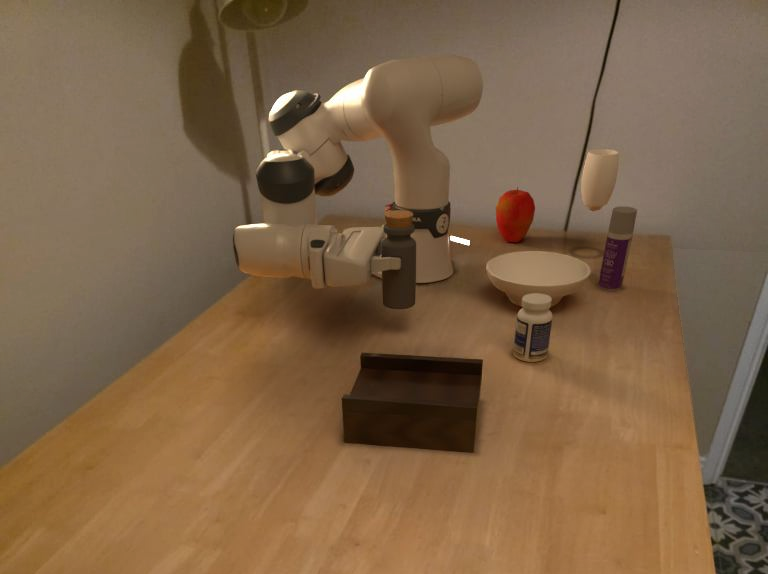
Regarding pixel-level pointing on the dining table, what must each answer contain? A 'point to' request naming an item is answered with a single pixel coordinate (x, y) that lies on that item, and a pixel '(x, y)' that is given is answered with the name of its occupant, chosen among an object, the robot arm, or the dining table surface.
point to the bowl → (537, 274)
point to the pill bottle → (533, 328)
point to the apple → (514, 214)
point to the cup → (599, 178)
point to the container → (617, 248)
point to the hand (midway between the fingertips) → (404, 255)
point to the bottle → (400, 243)
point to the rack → (414, 402)
